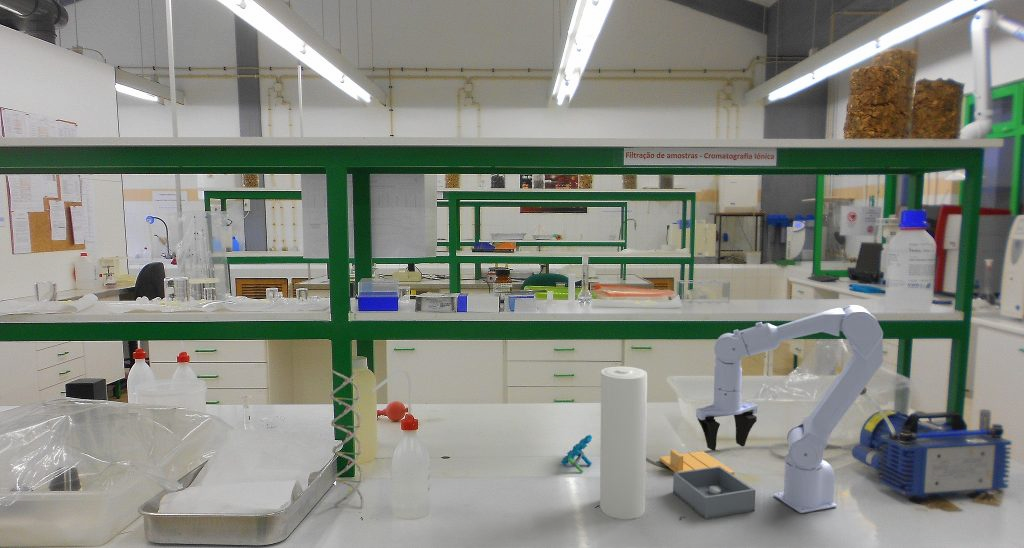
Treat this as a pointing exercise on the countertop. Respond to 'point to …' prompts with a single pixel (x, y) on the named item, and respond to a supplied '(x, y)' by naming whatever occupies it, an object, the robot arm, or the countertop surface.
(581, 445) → the blue knobbly piece
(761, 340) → the robot arm
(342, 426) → the dna model
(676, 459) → the lid
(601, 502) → the cylinder container
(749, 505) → the tub
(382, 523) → the countertop surface
